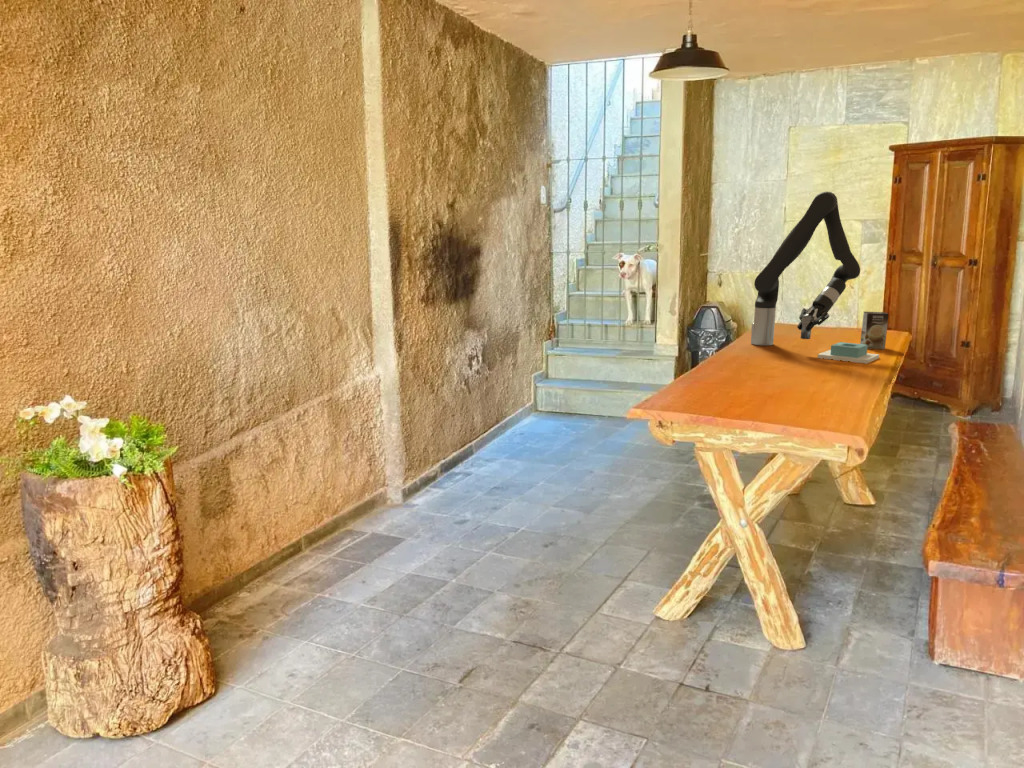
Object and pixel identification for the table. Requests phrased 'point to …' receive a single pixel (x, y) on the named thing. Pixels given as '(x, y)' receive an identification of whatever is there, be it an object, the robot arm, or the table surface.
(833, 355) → the socket board
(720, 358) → the table surface
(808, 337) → the dark grey tall block
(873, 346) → the coffee box
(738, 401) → the table surface
